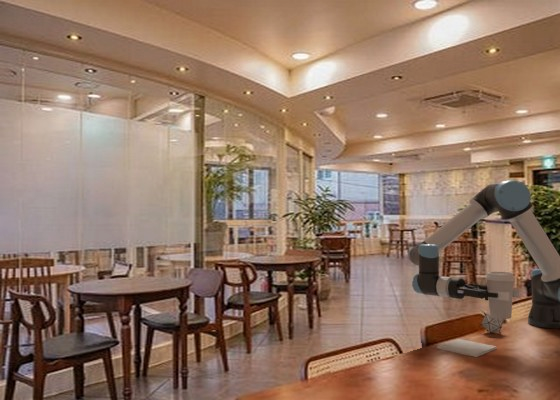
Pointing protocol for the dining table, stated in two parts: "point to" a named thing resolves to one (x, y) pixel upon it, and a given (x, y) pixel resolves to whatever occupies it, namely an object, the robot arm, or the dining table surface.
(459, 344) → the mat
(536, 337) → the dining table surface
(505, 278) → the coffee cup
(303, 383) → the dining table surface
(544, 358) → the dining table surface
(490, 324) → the game die
